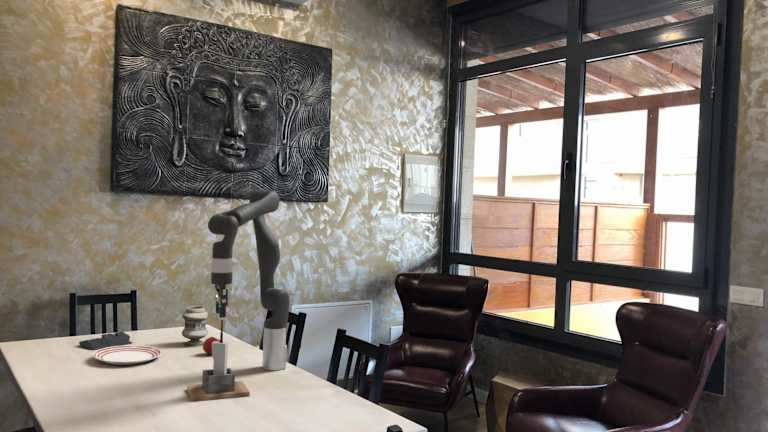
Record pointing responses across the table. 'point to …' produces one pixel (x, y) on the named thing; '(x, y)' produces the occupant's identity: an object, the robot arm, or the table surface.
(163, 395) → the table surface
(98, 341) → the dark slate chunk
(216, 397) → the phone dock
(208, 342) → the apple
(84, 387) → the table surface
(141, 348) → the dinner plate
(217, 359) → the vintage mobile phone
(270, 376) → the table surface
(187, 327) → the apothecary jar
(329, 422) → the table surface
